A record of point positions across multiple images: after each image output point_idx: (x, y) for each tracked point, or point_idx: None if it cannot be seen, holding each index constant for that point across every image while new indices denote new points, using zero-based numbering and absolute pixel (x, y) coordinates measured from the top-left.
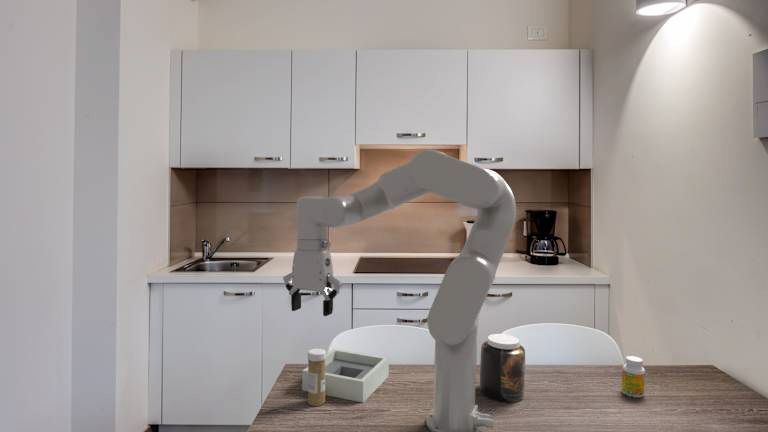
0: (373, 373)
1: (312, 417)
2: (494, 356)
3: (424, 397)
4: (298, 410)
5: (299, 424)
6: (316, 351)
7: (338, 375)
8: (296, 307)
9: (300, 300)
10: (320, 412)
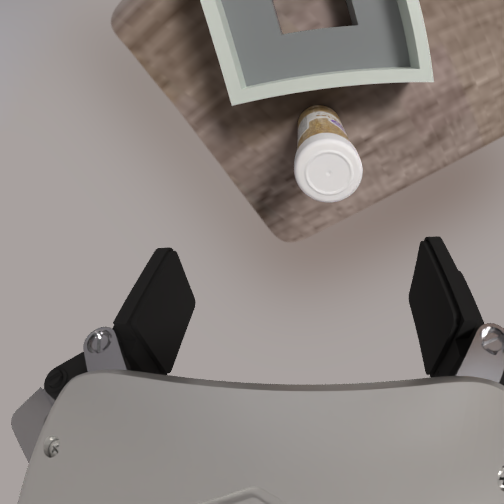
0: (419, 11)
1: None
2: None
3: (499, 9)
4: None
5: (348, 213)
6: (329, 175)
7: (350, 74)
8: (185, 297)
9: (155, 290)
10: None
